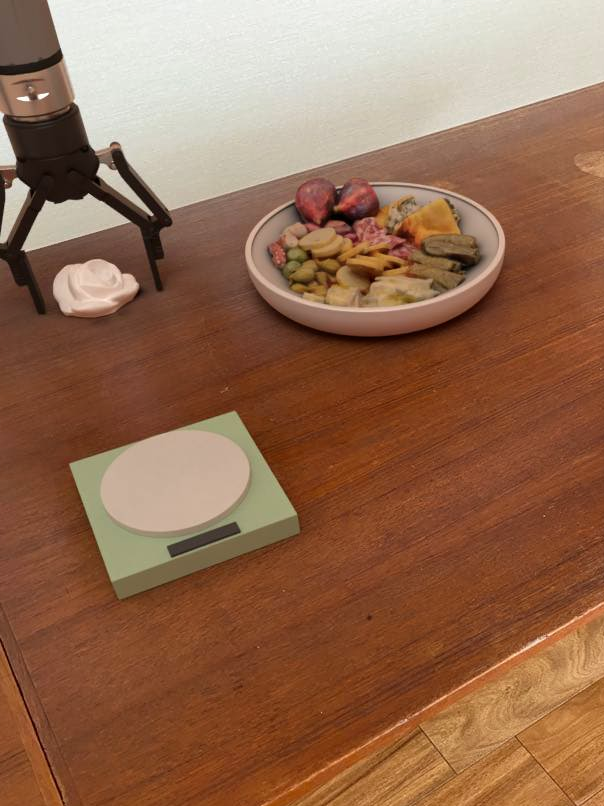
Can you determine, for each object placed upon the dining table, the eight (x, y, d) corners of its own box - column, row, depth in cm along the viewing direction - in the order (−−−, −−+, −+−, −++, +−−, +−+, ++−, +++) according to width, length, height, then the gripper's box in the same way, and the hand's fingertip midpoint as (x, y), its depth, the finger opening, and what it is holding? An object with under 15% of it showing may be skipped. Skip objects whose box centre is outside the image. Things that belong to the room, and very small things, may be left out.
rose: (45, 248, 102) (129, 236, 103) (57, 282, 105) (138, 270, 106) (43, 292, 95) (133, 278, 97) (56, 327, 98) (143, 312, 100)
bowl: (555, 282, 102) (562, 219, 96) (353, 386, 89) (347, 320, 84) (395, 196, 118) (392, 137, 112) (204, 274, 105) (191, 212, 100)
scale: (119, 600, 71) (108, 575, 68) (76, 482, 80) (65, 456, 78) (300, 533, 75) (296, 507, 73) (239, 429, 85) (233, 403, 83)
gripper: (-95, 143, 82) (-9, 334, 97) (168, 101, 87) (210, 290, 102) (-91, 114, 87) (-10, 301, 102) (158, 76, 92) (200, 260, 107)
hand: (100, 296), depth 102 cm, fingers open, 13 cm apart
